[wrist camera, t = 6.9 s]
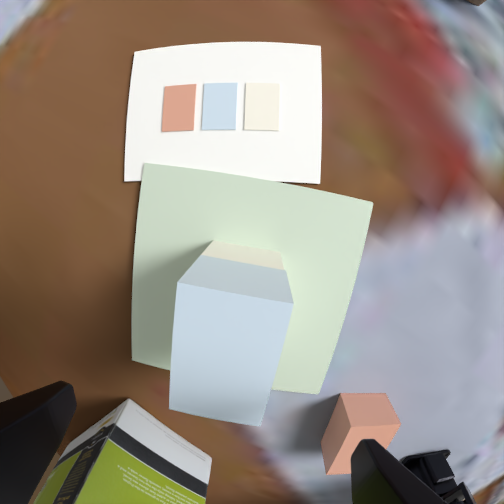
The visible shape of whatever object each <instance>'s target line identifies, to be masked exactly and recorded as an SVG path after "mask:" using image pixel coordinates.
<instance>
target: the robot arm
mask: <svg viewBox="0 0 504 504" xmlns="http://www.w3.org/2000/svg"><path fill="white" fill-rule="evenodd" d="M76 406H77V403H76V398H75V394H74V389H73V386H72V385H71V384H69V383H66V382H64V381H58V382H55V383H53V384H50V385H48V386H45V387H42V388H40V389H37V390H34V391H31V392H29V393H26V394H23V395H20V396H18V397H15V398H12V399H10V400H6V401H4V402H1V403H0V504H28V503H29V501H30V499H31V496H32V495H33V493H34V491H35V489H36V487H37V485H38V483H39V482H40V480H41V478H42V476H43V474H44V472H45V471H46V469H47V467H48V465H49V463H50V462H51V460H52V458H53V456H54V455H55V453H56V451H57V449H58V448H59V446H60V444H61V442H62V440H63V437H64V435H65V433H66V430H67V428H68V426H69V423H70V421H71V419H72V417H73V414H74V412H75V410H76ZM450 453H451V452H450V451H449V450H444V451H439V452H434V453H428V454H422V455H415V456H409V457H407V458H406V459H405V460H404V461H403V463H402V464H401V463H400V462H399V461H398V460H397V459H396V458H395V457H394V456H393V455H392V454H390V453H389V452H388V451H387V450H386V449H385V448H384V447H383V446H382V445H381V444H380V443H378V442H377V441H376V440H375V439H362V440H361V441H360V442H359V444H358V445H357V447H356V448H355V450H354V452H353V453H352V455H351V483H352V501H353V504H476V502H475V500H474V498H473V496H472V494H471V492H470V490H469V489H468V488H467V486H466V485H465V484H464V482H461V483H460V484H459V485H458V486H457V484H456V482H455V480H454V477H455V476H454V474H453V472H452V470H451V468H450V466H449V464H448V462H447V460H446V458H447V457H448V456H449V455H450ZM464 498H465V500H464V501H461V500H463V499H464Z"/></svg>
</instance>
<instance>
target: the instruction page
mask: <svg viewBox="0 0 504 504" xmlns="http://www.w3.org/2000/svg"><path fill="white" fill-rule="evenodd" d="M321 135H322V80H321V46H314V45H304V44H291V43H273V42H221V43H203V44H190V45H180V46H171V47H163V48H156V49H149V50H143V51H137V52H135V54H134V60H133V67H132V75H131V83H130V92H129V102H128V113H127V126H126V143H125V172H124V181H142V176H143V169H144V163H151V164H160V165H169V166H177V167H185V168H193V169H200V170H207V171H214V172H221V173H228V174H234V175H240V176H246V177H252V178H258V179H264V180H270V181H278V182H297V183H314V184H320V172H321Z"/></svg>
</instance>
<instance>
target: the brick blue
mask: <svg viewBox="0 0 504 504" xmlns="http://www.w3.org/2000/svg"><path fill="white" fill-rule="evenodd" d="M293 305H294V302H293V298H292V294H291V289H290V285H289V281H288V277H287V273H286V270H281V269H275V268H270V267H264V266H259V265H253V264H248V263H242V262H237V261H231V260H226V259H220V258H215V257H210V256H204V255H200V256H199V258H198V259H197V260H196V261H195V262H194V263H193V264H192V266H191V267H190V268H189V269H188V270H187V271H186V273H185V274H184V275H183V276H182V277H181V278H180V280H179V281H178V282H177V291H176V301H175V312H174V324H173V338H172V353H171V371H170V394H169V409H171V410H175V411H179V412H184V413H188V414H192V415H197V416H202V417H207V418H212V419H217V420H222V421H228V422H234V423H240V424H247V425H254V426H261V422H262V419H263V416H264V412H265V409H266V406H267V402H268V399H269V395H270V392H271V388H272V385H273V381H274V378H275V374H276V371H277V367H278V363H279V360H280V356H281V352H282V348H283V345H284V341H285V337H286V333H287V329H288V325H289V321H290V317H291V313H292V309H293Z"/></svg>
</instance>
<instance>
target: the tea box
mask: <svg viewBox="0 0 504 504" xmlns="http://www.w3.org/2000/svg"><path fill="white" fill-rule="evenodd" d="M211 462H212V458H211V457H210V456H209V455H207V454H206V453H204V452H203V451H201V450H200V449H198V448H197V447H195V446H194V445H192V444H191V443H189V442H188V441H186V440H185V439H183V438H182V437H181V436H179V435H178V434H176V433H175V432H173V431H172V430H171V429H169V428H168V427H167V426H165V425H164V424H162V423H161V422H160V421H158V420H157V419H156V418H154V417H153V416H152V415H151V414H149V413H148V412H147V411H145V410H144V409H143V408H141V407H140V406H139V405H138V404H136V403H135V402H134V401H132V400H131V399H127V400H126V401H124V402H123V403H122V404H121V405H119V406H118V407H117V408H116V409H114V410H113V411H112V412H110V413H109V414H108V415H106V416H105V417H104V418H103V419H101V420H100V421H98V422H97V423H96V424H94V425H93V426H92V427H90V428H89V429H88V430H86V431H85V432H84V433H82V434H81V435H80V436H78V437H77V438H76V439H74V440H73V441H72V442H70V443H69V444H68V446H67V448H66V449H65V451H64V452H63V454H62V455H61V457H60V459H59V461H58V462H57V464H56V466H55V467H54V469H53V471H52V472H51V474H50V475H49V477H48V479H47V481H46V483H45V484H44V486H43V488H42V489H41V491H40V493H39V494H38V496H37V498H36V500H35V502H34V503H33V504H205V501H206V493H207V487H208V482H209V476H210V469H211Z"/></svg>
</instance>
